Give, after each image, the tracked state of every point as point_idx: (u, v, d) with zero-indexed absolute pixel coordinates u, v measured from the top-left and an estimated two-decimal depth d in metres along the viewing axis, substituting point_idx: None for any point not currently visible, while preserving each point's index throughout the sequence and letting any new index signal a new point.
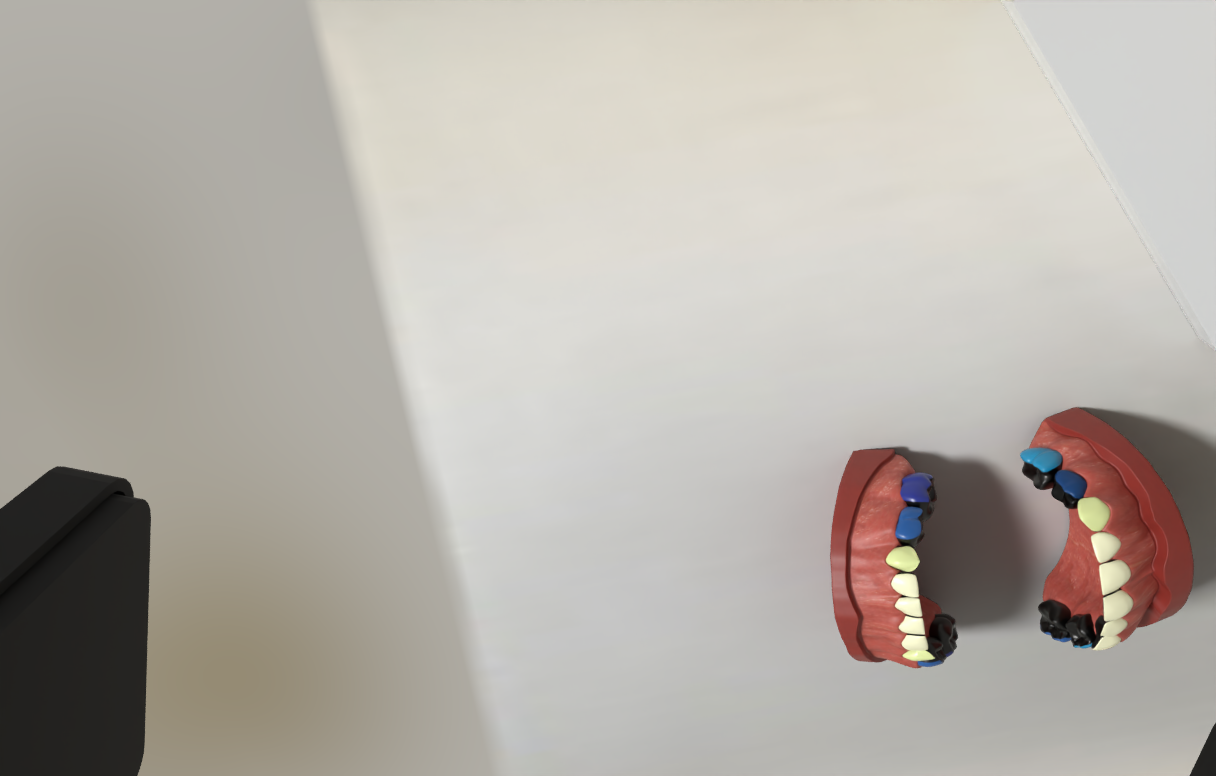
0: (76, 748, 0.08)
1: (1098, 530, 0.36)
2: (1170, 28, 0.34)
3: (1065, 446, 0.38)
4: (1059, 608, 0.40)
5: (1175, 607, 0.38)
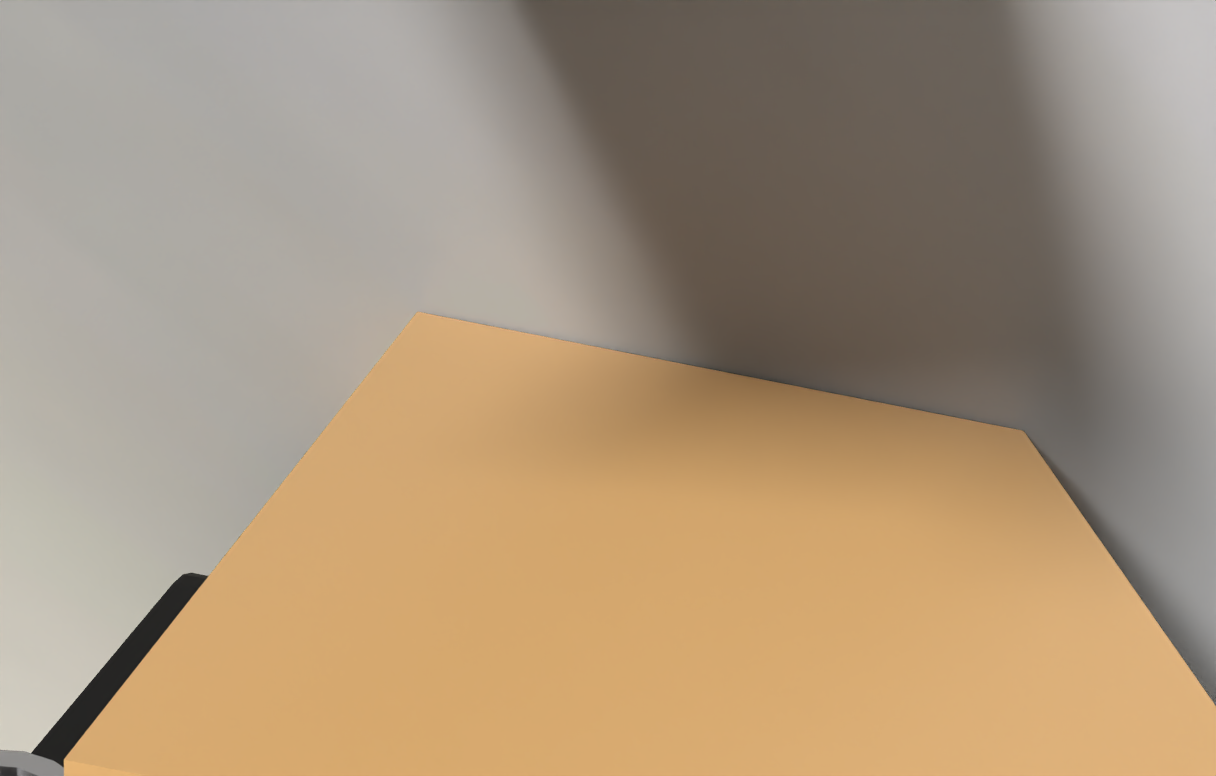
0: None
1: None
2: None
3: None
4: None
5: None
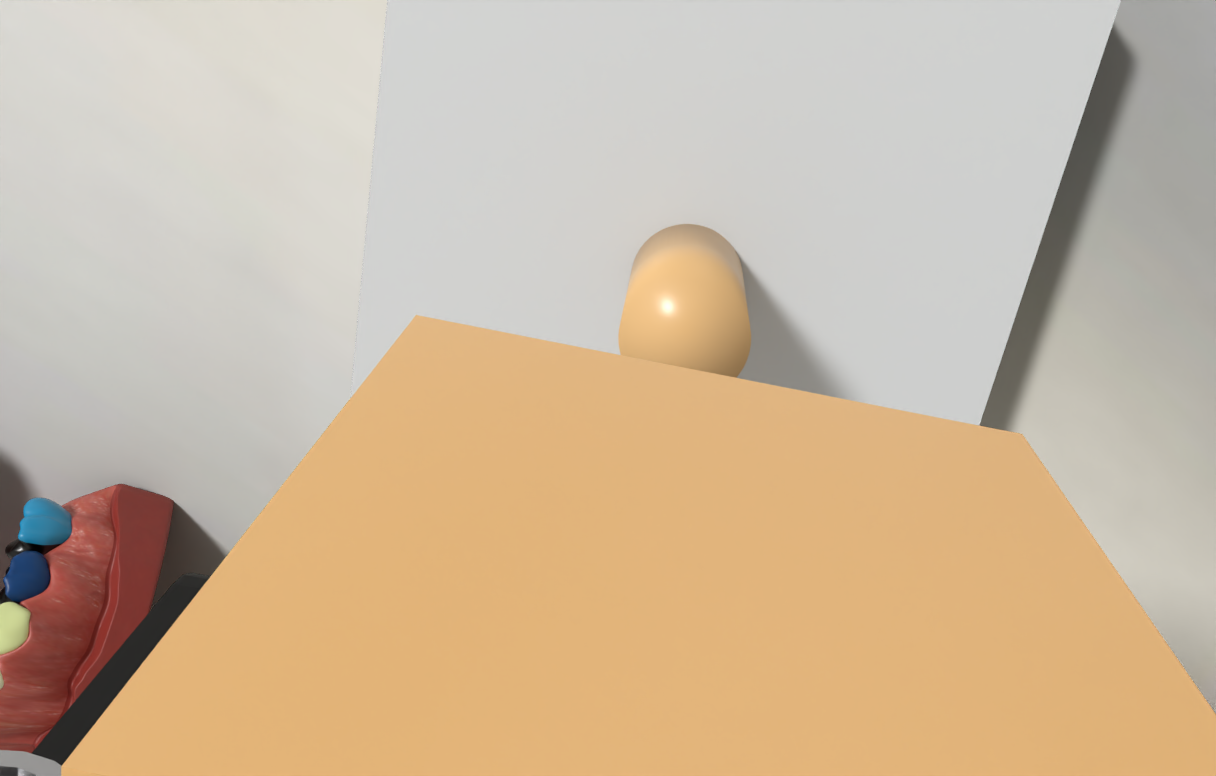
0: None
1: None
2: (549, 82, 0.22)
3: (85, 530, 0.26)
4: None
5: None
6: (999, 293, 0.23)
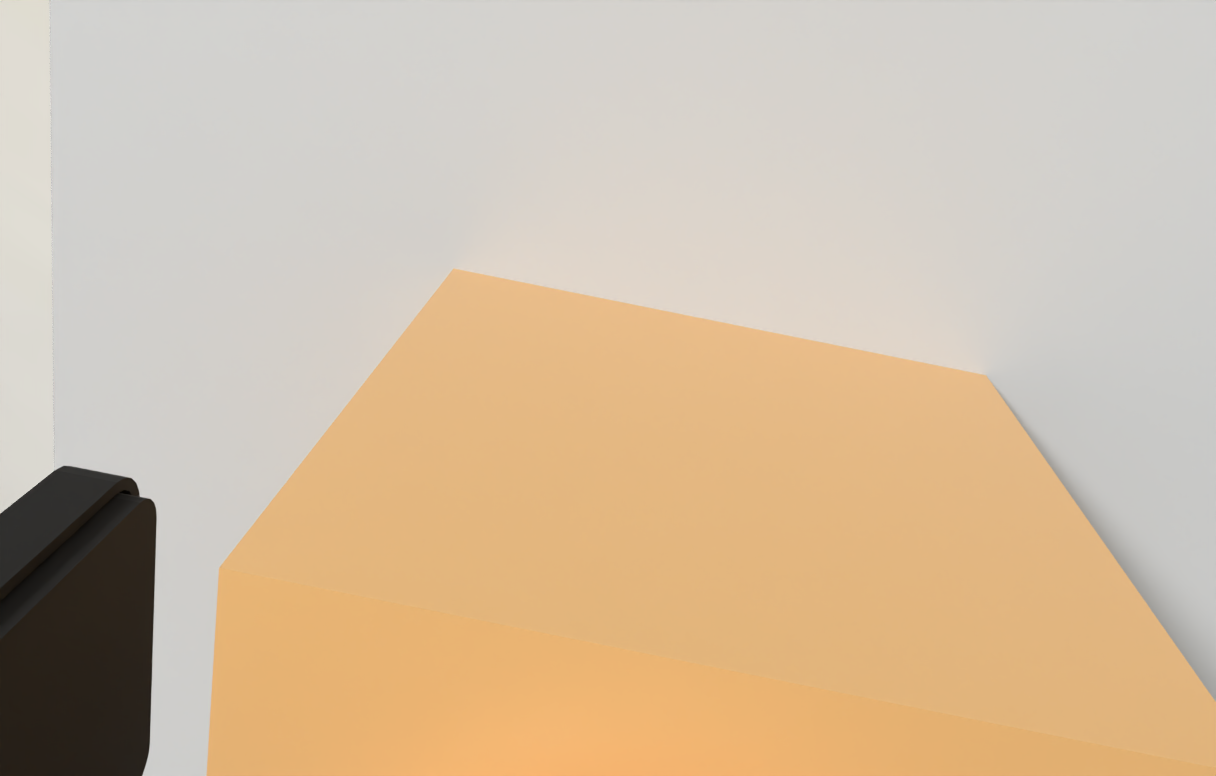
0: (83, 746, 0.08)
1: None
2: (386, 189, 0.11)
3: None
4: None
5: None
6: None
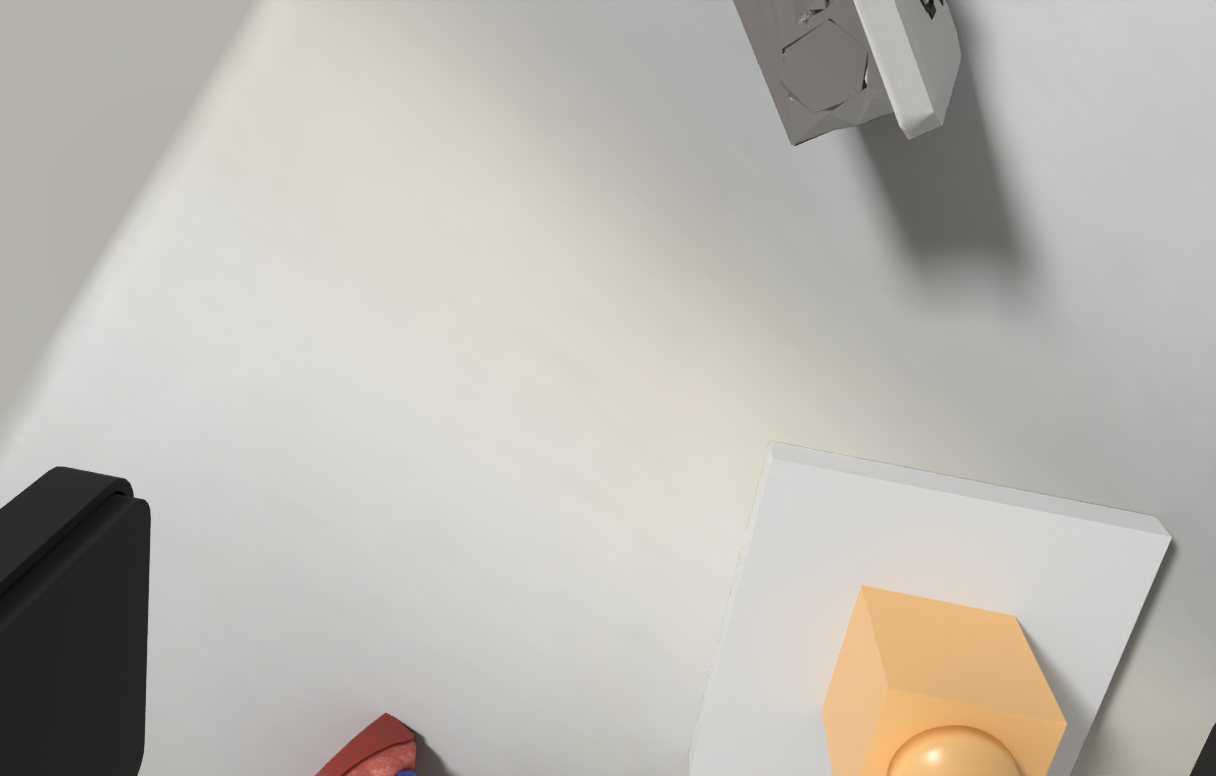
0: (76, 747, 0.08)
1: None
2: (844, 564, 0.39)
3: None
4: None
5: None
6: (1098, 677, 0.40)
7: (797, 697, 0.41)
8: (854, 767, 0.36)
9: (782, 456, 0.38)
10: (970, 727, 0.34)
